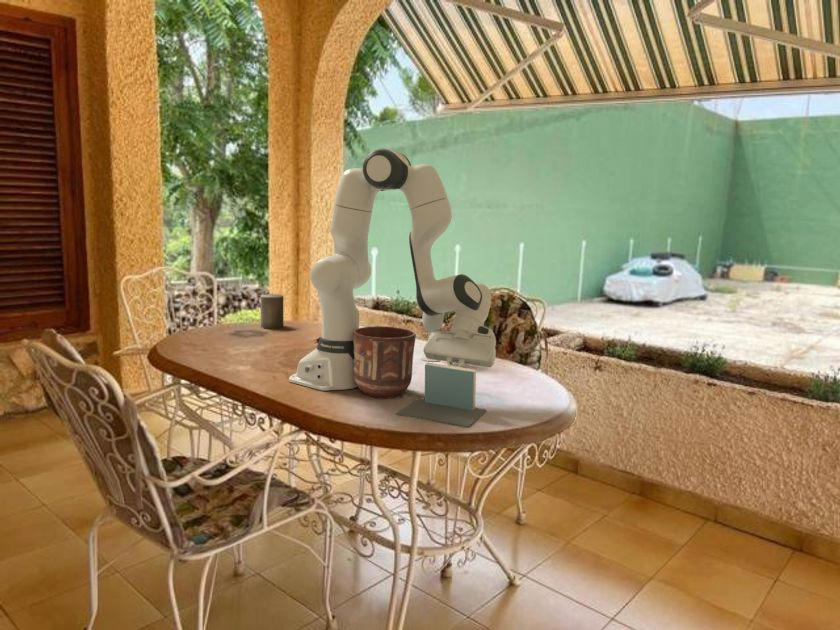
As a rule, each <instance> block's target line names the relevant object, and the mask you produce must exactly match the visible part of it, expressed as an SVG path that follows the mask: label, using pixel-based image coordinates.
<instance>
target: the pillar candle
mask: <svg viewBox="0 0 840 630" xmlns="http://www.w3.org/2000/svg"><path fill="white" fill-rule="evenodd" d="M284 326H285V325H284V295H283V294H276V293H274V292H271V294H270V293H268V294H267V293H266V294H261V295H260V328H262V327H263V328H262V329H269V330H270V329H271V330H274V329H282V328H283V327H284Z"/></svg>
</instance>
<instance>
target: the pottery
mask: <svg viewBox="0 0 840 630" xmlns="http://www.w3.org/2000/svg"><path fill="white" fill-rule="evenodd" d="M416 338H417V337H416V332H414V331H412V330H410V329H407V328H403V327H396V326H395V327H394V326H380V325H379V326H376V325H375V326H365V327H359V329H356V330H354V332H353V341H354V358H355V359H354V379H355V382H356V384H357V386H358V387H357V388H359V390H360V391H361V392H362V393H363V394H365V395H366V396H369V397H373V398H379V399H381V398H382V399H388V398H396V397H400V396H402V395H403V393H404V392H406V391H407V390H408V388H409V387H410V384H411V382H412V378H413V377H412V376H413V363H414V362H413V361H414V351H415V344H416Z"/></svg>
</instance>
